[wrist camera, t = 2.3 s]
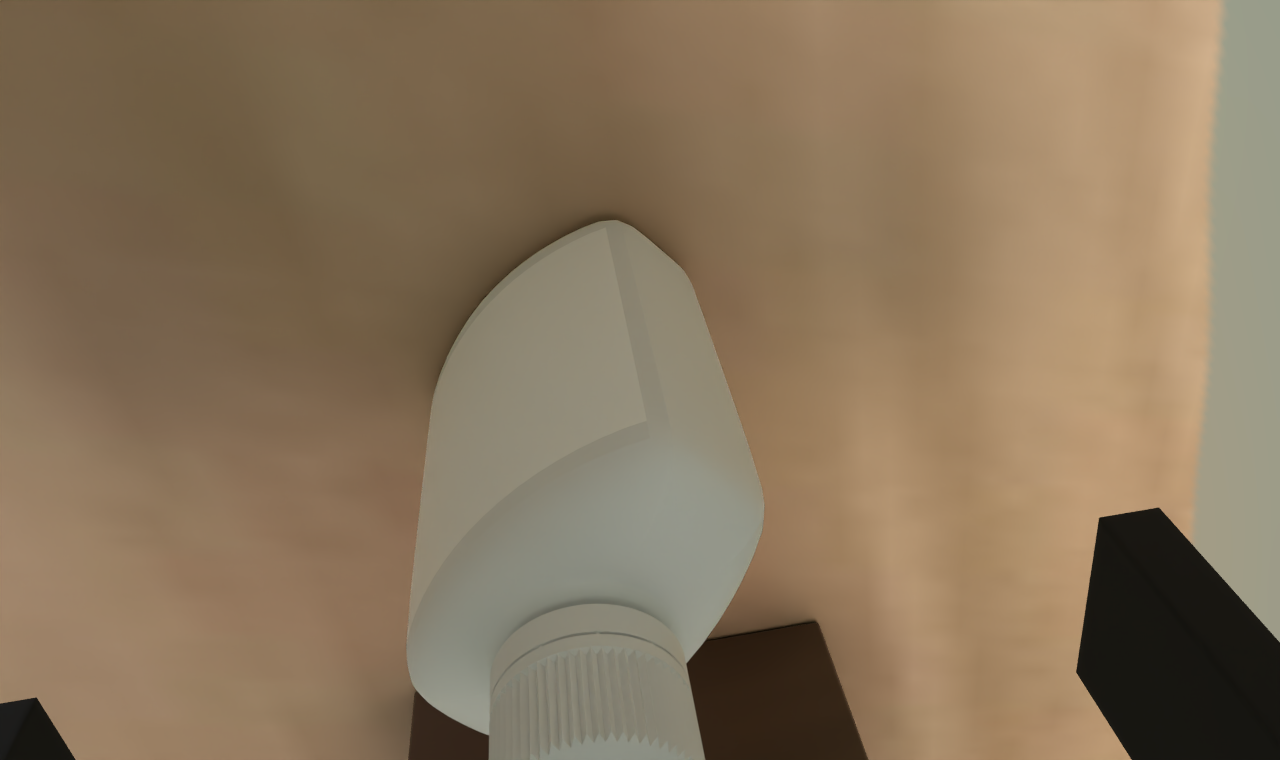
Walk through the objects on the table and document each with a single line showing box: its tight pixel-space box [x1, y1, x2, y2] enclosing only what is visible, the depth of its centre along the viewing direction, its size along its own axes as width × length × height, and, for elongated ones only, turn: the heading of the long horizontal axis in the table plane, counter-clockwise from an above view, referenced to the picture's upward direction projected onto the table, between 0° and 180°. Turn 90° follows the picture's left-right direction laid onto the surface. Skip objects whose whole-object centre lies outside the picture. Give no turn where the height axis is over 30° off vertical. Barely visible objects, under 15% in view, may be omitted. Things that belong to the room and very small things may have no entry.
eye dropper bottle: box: [406, 220, 764, 760], centre depth 15 cm, size 4×6×12 cm
